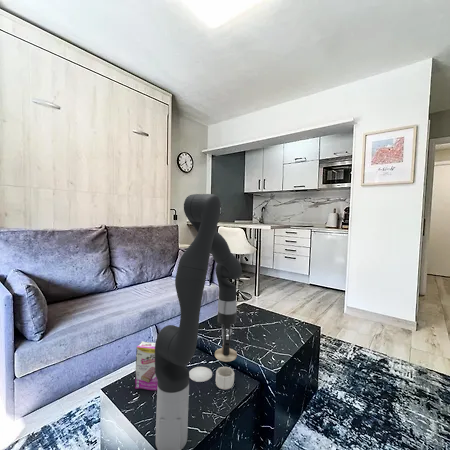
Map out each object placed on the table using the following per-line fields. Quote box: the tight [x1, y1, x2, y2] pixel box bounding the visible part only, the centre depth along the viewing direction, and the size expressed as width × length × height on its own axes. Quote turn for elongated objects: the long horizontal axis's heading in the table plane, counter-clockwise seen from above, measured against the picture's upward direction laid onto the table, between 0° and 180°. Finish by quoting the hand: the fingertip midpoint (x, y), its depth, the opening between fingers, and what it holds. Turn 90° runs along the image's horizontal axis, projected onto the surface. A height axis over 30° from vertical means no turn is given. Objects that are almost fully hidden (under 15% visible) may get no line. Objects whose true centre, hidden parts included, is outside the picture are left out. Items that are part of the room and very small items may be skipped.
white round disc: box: [189, 366, 213, 383], centre depth 105 cm, size 10×10×1 cm
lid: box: [214, 344, 238, 363], centre depth 100 cm, size 9×9×5 cm
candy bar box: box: [134, 341, 158, 392], centre depth 96 cm, size 11×5×16 cm, turn 84°
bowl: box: [215, 366, 235, 390], centre depth 100 cm, size 7×7×5 cm
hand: (225, 352), depth 100 cm, fingers closed on lid, 3 cm apart
